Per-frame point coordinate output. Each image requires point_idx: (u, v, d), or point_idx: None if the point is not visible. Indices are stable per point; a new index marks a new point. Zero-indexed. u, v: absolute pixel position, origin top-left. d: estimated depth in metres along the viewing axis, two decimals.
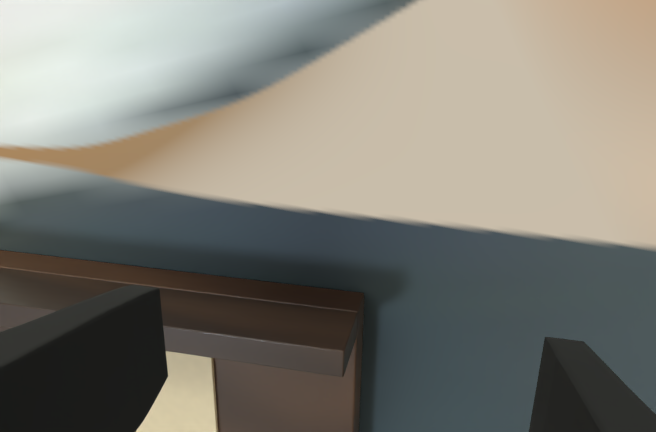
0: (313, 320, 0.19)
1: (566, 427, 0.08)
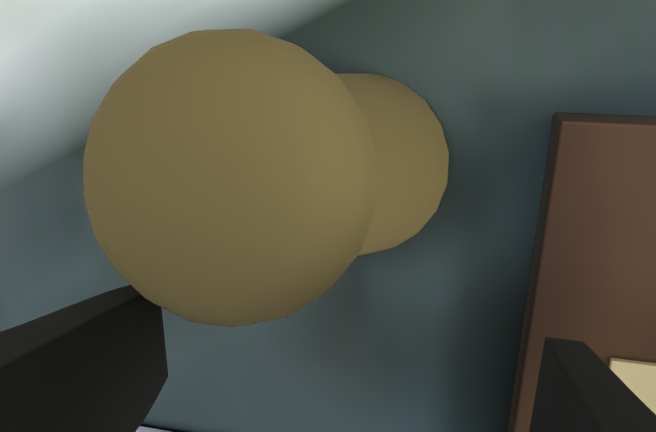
0: None
1: (566, 427, 0.08)
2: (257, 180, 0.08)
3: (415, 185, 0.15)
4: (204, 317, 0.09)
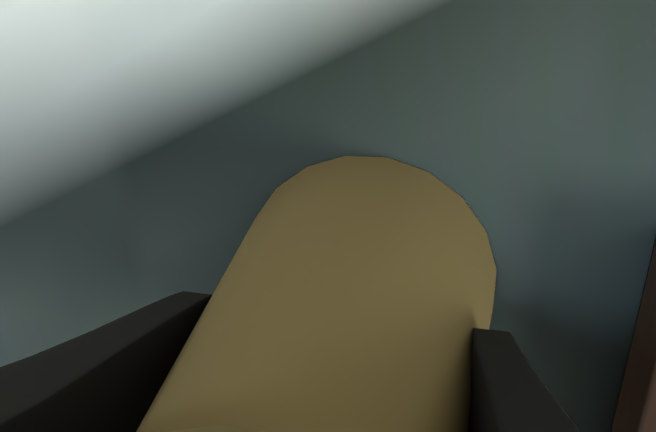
0: None
1: (478, 413, 0.08)
2: None
3: None
4: None
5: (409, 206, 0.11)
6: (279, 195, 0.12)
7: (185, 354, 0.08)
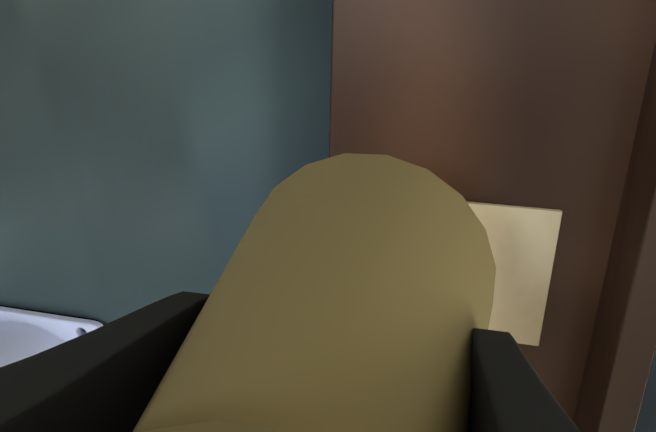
0: None
1: (478, 413, 0.08)
2: None
3: None
4: None
5: (408, 203, 0.11)
6: (278, 193, 0.12)
7: (184, 350, 0.08)
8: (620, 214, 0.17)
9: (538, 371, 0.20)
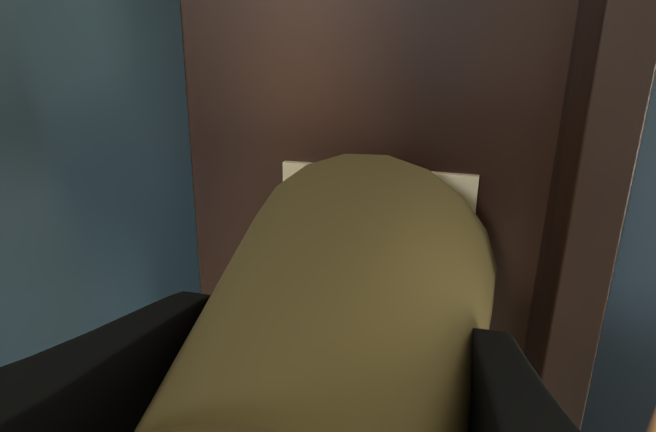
0: None
1: (478, 413, 0.08)
2: None
3: None
4: None
5: (409, 204, 0.11)
6: (279, 193, 0.12)
7: (185, 351, 0.08)
8: (553, 178, 0.13)
9: None
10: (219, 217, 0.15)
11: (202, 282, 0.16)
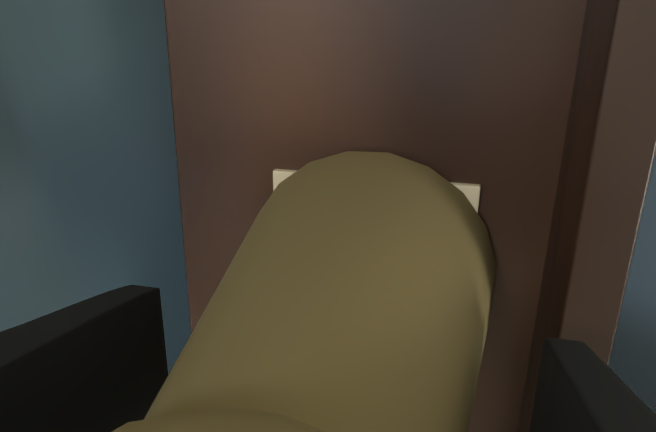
0: None
1: (566, 427, 0.08)
2: None
3: (475, 389, 0.10)
4: None
5: (410, 200, 0.11)
6: (282, 190, 0.13)
7: (192, 342, 0.08)
8: (559, 189, 0.12)
9: None
10: (207, 227, 0.15)
11: (190, 295, 0.16)
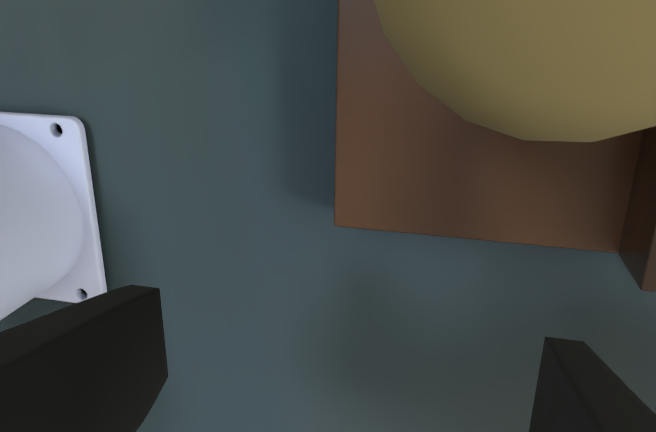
0: None
1: (566, 427, 0.08)
2: None
3: None
4: (582, 125, 0.07)
5: None
6: None
7: None
8: None
9: None
10: None
11: (340, 21, 0.17)
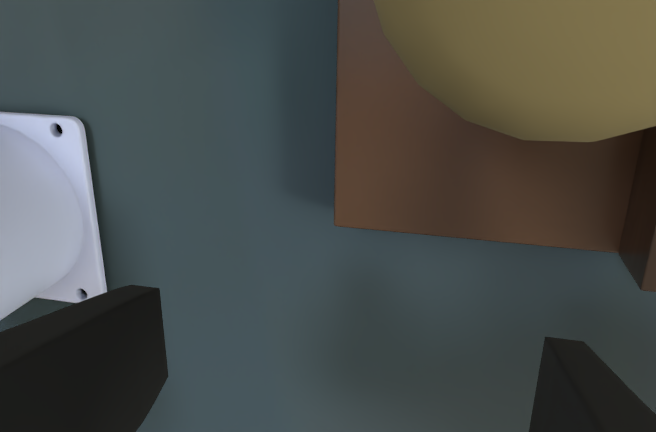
0: None
1: (566, 427, 0.08)
2: None
3: None
4: (582, 125, 0.07)
5: None
6: None
7: None
8: None
9: None
10: None
11: (340, 21, 0.17)
